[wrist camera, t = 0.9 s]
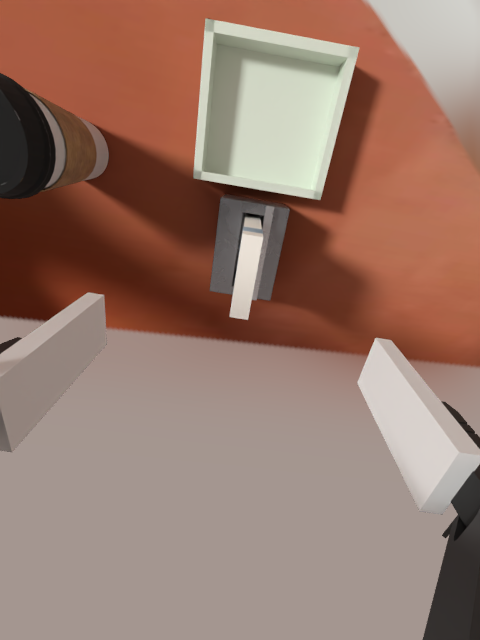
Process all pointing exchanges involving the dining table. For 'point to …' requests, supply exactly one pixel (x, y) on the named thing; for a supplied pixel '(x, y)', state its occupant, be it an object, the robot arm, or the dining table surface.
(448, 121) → the dining table surface
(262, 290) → the dispenser
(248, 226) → the white striped flat box
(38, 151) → the coffee cup
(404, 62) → the dining table surface
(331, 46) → the tray
